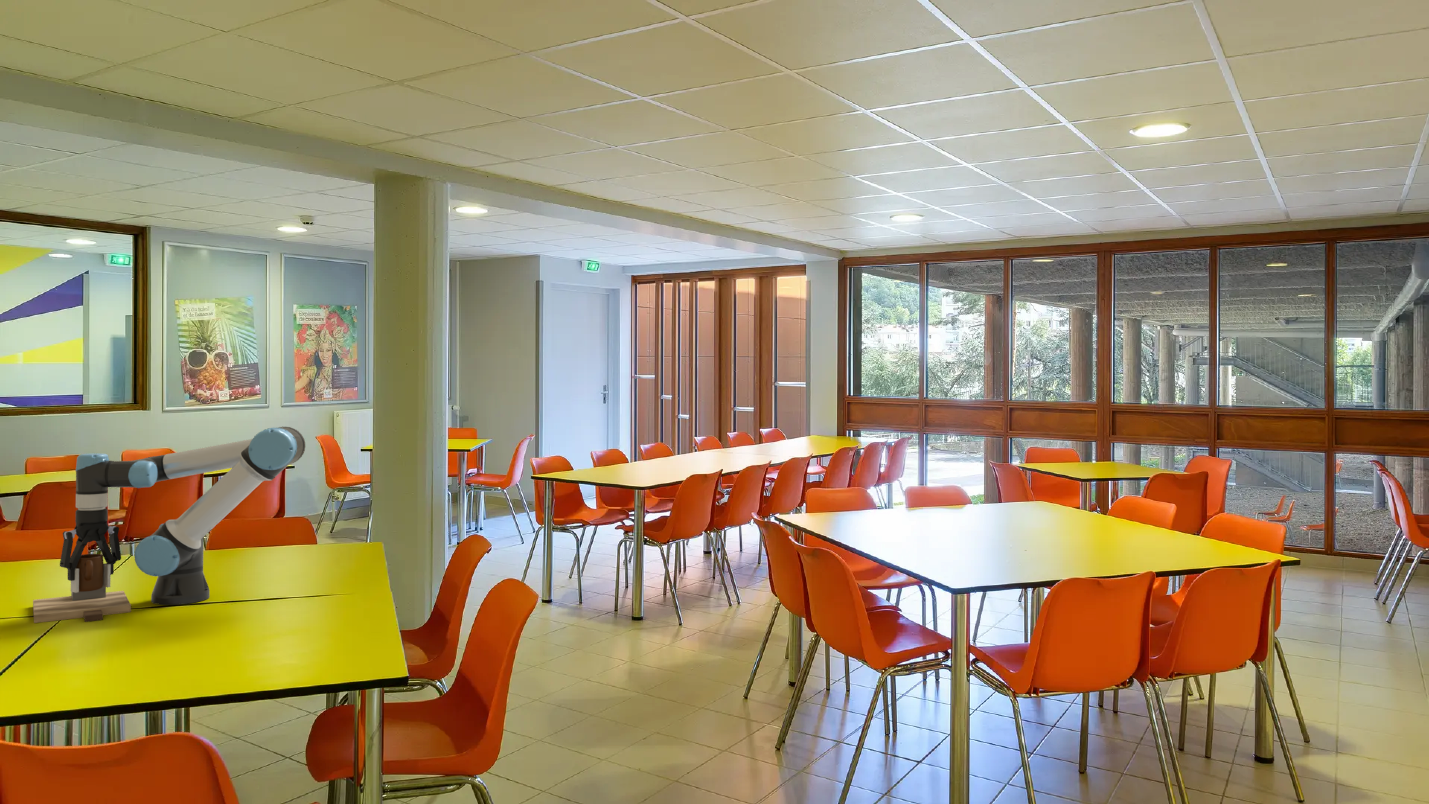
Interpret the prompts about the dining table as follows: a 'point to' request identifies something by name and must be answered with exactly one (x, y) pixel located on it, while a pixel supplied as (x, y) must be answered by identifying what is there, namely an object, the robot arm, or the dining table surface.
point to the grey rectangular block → (89, 594)
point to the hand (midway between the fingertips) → (90, 589)
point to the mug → (90, 572)
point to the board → (80, 607)
